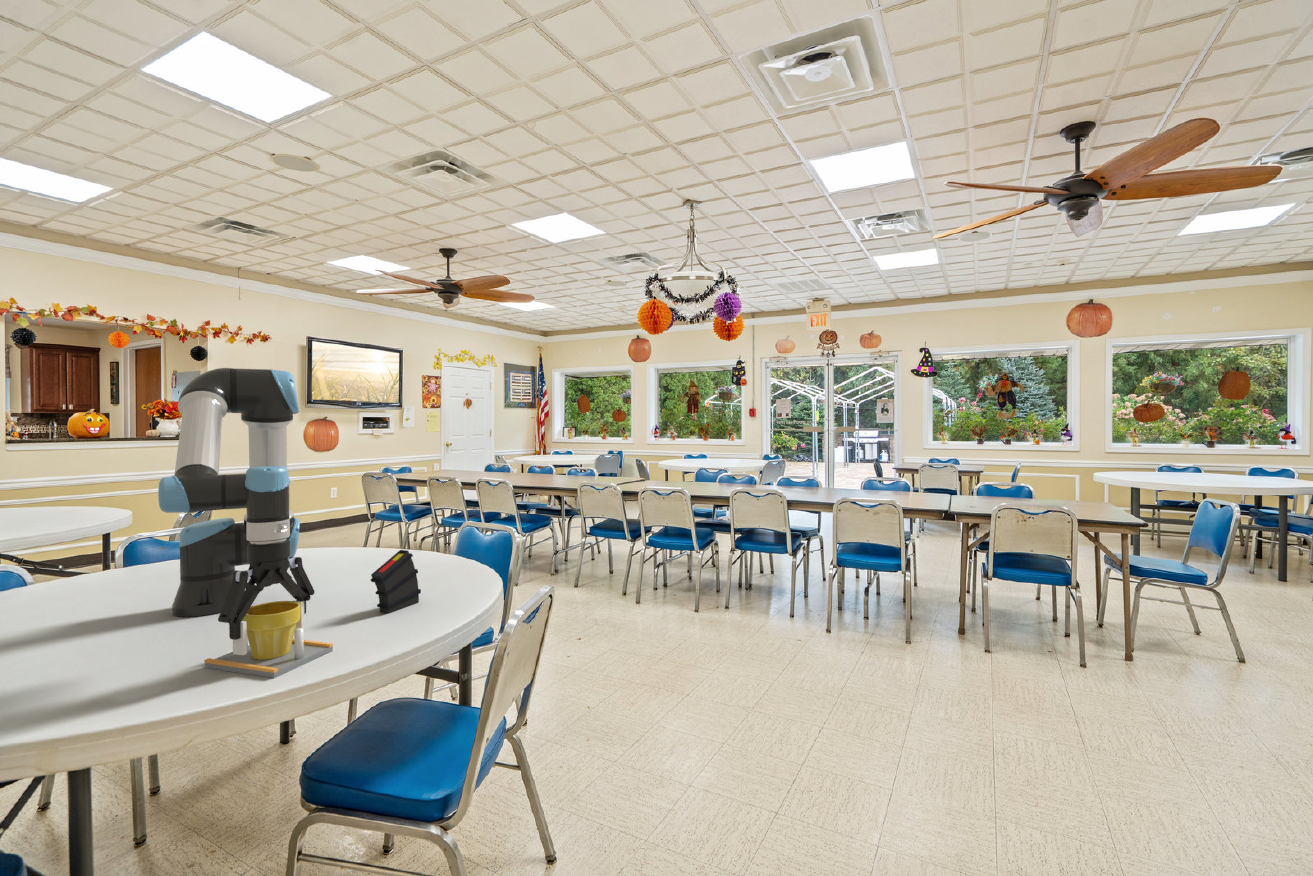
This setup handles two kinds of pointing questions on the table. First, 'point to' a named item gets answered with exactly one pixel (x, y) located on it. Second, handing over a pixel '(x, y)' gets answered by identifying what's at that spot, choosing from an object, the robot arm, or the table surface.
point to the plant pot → (271, 628)
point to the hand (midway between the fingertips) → (270, 642)
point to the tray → (274, 667)
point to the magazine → (396, 583)
